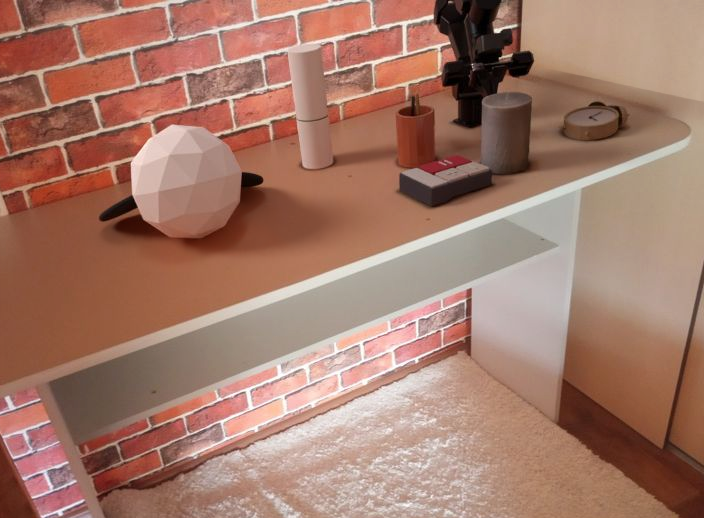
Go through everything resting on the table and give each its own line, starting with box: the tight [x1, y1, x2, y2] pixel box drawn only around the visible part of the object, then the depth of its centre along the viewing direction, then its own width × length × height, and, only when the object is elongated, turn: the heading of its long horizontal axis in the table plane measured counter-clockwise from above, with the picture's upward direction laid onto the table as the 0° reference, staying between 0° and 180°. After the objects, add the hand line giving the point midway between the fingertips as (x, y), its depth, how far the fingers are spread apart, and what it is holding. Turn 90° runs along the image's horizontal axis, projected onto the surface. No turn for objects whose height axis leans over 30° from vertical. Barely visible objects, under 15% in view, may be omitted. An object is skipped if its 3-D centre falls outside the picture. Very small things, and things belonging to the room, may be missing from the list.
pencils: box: [410, 91, 421, 116], centre depth 151 cm, size 3×3×14 cm
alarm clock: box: [558, 100, 630, 141], centre depth 156 cm, size 11×5×15 cm
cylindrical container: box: [286, 43, 334, 170], centre depth 154 cm, size 7×7×25 cm
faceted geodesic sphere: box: [98, 124, 265, 239], centre depth 138 cm, size 35×30×22 cm
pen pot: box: [395, 104, 436, 169], centre depth 152 cm, size 8×8×11 cm
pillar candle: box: [480, 91, 533, 175], centre depth 143 cm, size 10×10×15 cm
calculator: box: [398, 154, 493, 207], centre depth 141 cm, size 11×4×15 cm
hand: (493, 105), depth 150 cm, fingers closed
